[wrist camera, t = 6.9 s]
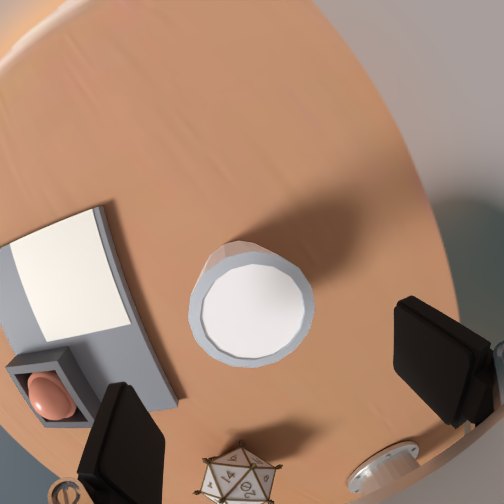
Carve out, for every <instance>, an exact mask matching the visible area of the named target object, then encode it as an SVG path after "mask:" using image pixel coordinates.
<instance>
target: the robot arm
mask: <svg viewBox="0 0 504 504" xmlns="http://www.w3.org/2000/svg"><path fill="white" fill-rule="evenodd" d="M490 345H491V343H490V342H489V341H487V340H486V339H484V338H483V337H481V336H479V335H478V334H476V333H474V332H473V331H471V330H470V329H468V328H466V327H465V326H463V325H462V324H460V323H458V322H457V321H455V320H453V319H452V318H450V317H448V316H447V315H445V314H443V313H442V312H440V311H438V310H437V309H435V308H433V307H432V306H430V305H428V304H426V303H425V302H423V301H421V300H420V299H418V298H416V297H414V296H409V297H407V298H404V299H402V300H400V301H398V302H397V306H396V307H395V308H394V357H393V366H394V370H395V372H396V373H397V374H398V375H399V376H400V377H401V378H402V379H403V380H404V381H405V382H406V383H407V384H408V385H409V386H410V387H411V388H412V389H413V390H414V391H415V392H416V393H417V394H418V395H419V397H420V398H421V399H422V400H423V401H424V402H425V403H426V404H427V405H428V406H429V407H430V408H431V409H432V410H433V411H434V412H435V413H436V414H437V415H438V416H439V417H440V418H441V419H442V420H443V421H444V422H445V423H446V424H448V425H450V424H451V425H452V426H453V427H454V428H455V429H456V428H458V427H459V426H460V425H462V424H463V423H464V422H466V421H467V419H468V420H469V421H470V422H471V432H469V433H468V434H467V435H465V436H464V437H463V438H461V439H460V440H459V441H457V442H456V443H455V444H453V445H452V446H451V447H449V448H448V449H446V450H445V451H443V452H442V453H440V454H439V455H438V456H436V457H434V458H433V459H431V460H430V461H428V462H427V463H425V464H424V465H422V466H420V465H419V464H418V462H417V461H416V460H415V459H416V457H417V455H418V453H419V447H418V446H417V444H416V443H415V442H413V441H406V442H401V443H398V444H395V445H392V446H390V447H388V448H386V449H384V450H382V451H381V452H379V453H377V454H375V455H374V456H372V457H371V458H369V459H368V460H367V461H365V462H364V463H363V464H361V465H360V466H359V467H358V468H357V469H356V470H355V471H354V472H353V473H352V474H351V475H350V477H349V479H348V480H347V487H348V489H349V491H350V492H352V493H362V494H363V497H360V498H358V499H356V500H353V501H351V502H348V503H346V504H504V340H503V341H502V342H499V343H498V344H497V345H496V346H495V347H494V350H491V349H490ZM164 455H165V438H164V435H163V434H162V432H161V431H160V429H159V428H158V426H157V425H156V423H155V422H154V420H153V419H152V417H151V416H150V414H149V412H148V411H147V409H146V408H145V406H144V404H143V403H142V401H141V400H140V398H139V396H138V395H137V393H136V391H135V389H134V388H133V386H132V385H128V384H127V383H126V382H124V381H123V382H117V383H110V384H109V385H108V387H107V389H106V392H105V394H104V397H103V399H102V402H101V404H100V407H99V410H98V412H97V415H96V418H95V420H94V423H93V426H92V428H91V431H90V434H89V437H88V440H87V443H86V445H85V448H84V451H83V454H82V457H81V460H80V464H79V467H78V470H77V473H78V474H79V476H78V479H75V478H71V477H65V478H62V479H59V480H57V481H56V482H55V483H54V484H53V485H52V486H51V487H50V489H49V492H48V502H49V504H162V486H163V469H164Z"/></svg>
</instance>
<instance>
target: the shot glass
mask: <svg viewBox="0 0 504 504" xmlns="http://www.w3.org/2000/svg"><path fill="white" fill-rule="evenodd" d="M314 311H315V305H314V298H313V292H312V286H311V285H310V283H309V282H308V280H307V279H306V277H305V276H304V274H303V273H302V271H301V270H300V269H299V267H297V266H295V265H294V264H292V263H291V262H289V261H287V260H286V259H284V258H282V257H281V256H279V255H277V254H275V253H273V252H271V251H269V250H267V249H265V248H263V247H261V246H259V245H257V244H255V243H252V242H246V241H239V240H238V241H234V242H230V243H226V244H223V245H222V246H221V247H219V248H218V249H216V250H215V251H214V252H212V253H211V255H210V257H209V258H208V260H207V262H206V263H205V265H204V267H203V269H202V271H201V274H200V276H199V278H198V280H197V282H196V285H195V287H194V289H193V291H192V293H191V296H190V305H189V315H188V320H189V323H190V326H191V329H192V332H193V335H194V338H195V341H196V342H197V343H198V344H199V345H200V346H201V347H202V348H203V349H204V350H205V351H206V352H207V353H208V354H209V355H210V356H211V357H212V358H214V359H217V360H219V361H221V362H223V363H225V364H228V365H230V366H235V367H249V368H256V367H260V366H263V365H267V364H271V363H274V362H277V361H279V360H280V359H282V358H283V357H285V356H286V355H288V354H289V353H291V352H292V351H294V350H295V349H296V348H297V347H298V346H299V344H300V343H301V341H302V340H303V339H304V337H305V336H306V335H307V333H308V332H309V330H310V327H311V323H312V319H313V315H314Z"/></svg>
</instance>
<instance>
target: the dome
mask: <svg viewBox="0 0 504 504" xmlns="http://www.w3.org/2000/svg"><path fill="white" fill-rule="evenodd" d="M28 389H29V399H30V402H31V404H32V406H33V408H34V409H35V410H36V412H37V413H38V414H40V415H41V416H42V417H44V418H46V419H49V420H60V419H62V418H68V417H71V416H72V415H73V414H74V412H75V410H76V408H77V405H76V403H75V402H74V400H73V399H72V397H71V396H70V394H69V392H68V391H67V389H66V388H65V386H64V384H63V383H62V381H61V379H60V378H59V376H58V374H57V373H56V371H55V370H51V371H43V372H33V373H32V374H31V376H30V377H29V379H28Z"/></svg>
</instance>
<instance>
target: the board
mask: <svg viewBox="0 0 504 504" xmlns="http://www.w3.org/2000/svg"><path fill="white" fill-rule="evenodd" d="M0 324H1V326H2V329H3V331H4V333H5V335H6V337H7V339H8V341H9V343H10V345H11V347H12V349H13V351H14V353H15V355H16V356H15V357H14V358H13V360H12V361H11V362H10V363H9V364H8V365H7V366H6V367H5V368H6V370H7V371H8V373H9V375H10V377H11V378H12V380H13V382H14V383H15V385H16V387H17V388H18V390H19V391H20V393H21V394H22V396H23V398H24V399H25V401H26V402H27V403H28V405H29V406H30V408H31V409H32V411H33V412H34V413H35V415H36V416H37V418H38V419H39V420H40V422H41V423H42V424H43V426H44V427H46V428H92V426H93V423H94V420H95V418H96V415H97V412H98V410H99V407H100V404H101V402H102V399H103V397H104V394H105V392H106V389H107V387H108V385H109V384H110V383H117V382H123V381H124V382H126V383H127V384H128V385H132V386H133V388H134V389H135V391H136V393H137V395H138V396H139V398H140V400H141V401H142V403H143V404H144V406H145V408H146V409H147V411H148V412H152V411H159V410H166V409H172V408H178V399H177V397H176V395H175V393H174V391H173V389H172V387H171V385H170V383H169V381H168V379H167V377H166V375H165V373H164V371H163V369H162V367H161V365H160V362H159V360H158V358H157V356H156V354H155V352H154V349H153V347H152V345H151V343H150V340H149V338H148V336H147V333H146V331H145V329H144V326H143V324H142V321H141V319H140V317H139V314H138V312H137V309H136V306H135V304H134V301H133V299H132V296H131V293H130V291H129V288H128V285H127V282H126V279H125V277H124V274H123V271H122V268H121V265H120V262H119V259H118V256H117V253H116V249H115V246H114V243H113V240H112V236H111V233H110V229H109V226H108V222H107V219H106V215H105V211H104V207H103V206H99V207H96V208H93V209H90V210H87V211H85V212H82V213H80V214H77V215H74V216H72V217H69V218H67V219H64V220H62V221H60V222H57V223H55V224H52V225H50V226H48V227H45V228H43V229H41V230H38V231H36V232H34V233H31V234H29V235H27V236H25V237H23V238H20V239H18V240H16V241H14V242H12V243H10V244H8V245H6V246H4V247H2V248H0ZM51 370H55V371H56V373H57V374H58V376H59V378H60V379H61V381H62V383H63V384H64V386H65V388H66V389H67V391H68V392H69V394H70V396H71V397H72V399H73V400H74V402H75V403H76V405H77V408H76V410H75V412H74V414H73V415H72V416H71V417H68V418H62V419H60V420H49V419H46V418H44V417H42V416H41V415H40V414H38V413H37V412H36V410H35V409H34V408H33V406H32V404H31V402H30V399H29V389H28V379H29V377H30V376H31V374H32V373H33V372H43V371H51Z"/></svg>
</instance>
